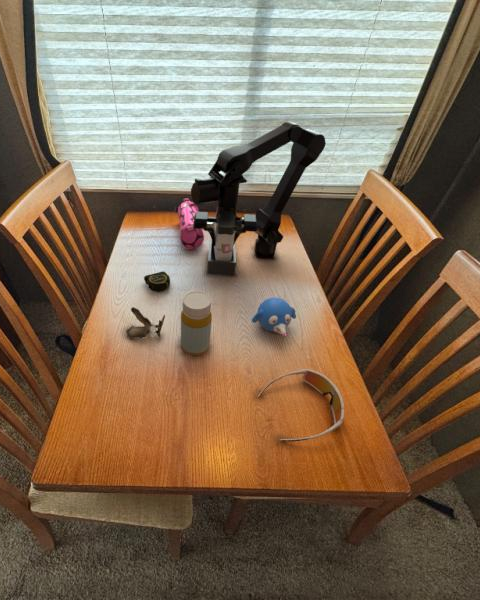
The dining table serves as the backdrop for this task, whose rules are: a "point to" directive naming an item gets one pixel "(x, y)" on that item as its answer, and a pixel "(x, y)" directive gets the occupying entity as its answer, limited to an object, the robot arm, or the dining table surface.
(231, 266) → the holder
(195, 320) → the bottle
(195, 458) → the dining table surface
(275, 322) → the blue mole toy
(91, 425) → the dining table surface
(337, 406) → the sunglasses
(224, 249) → the ink box
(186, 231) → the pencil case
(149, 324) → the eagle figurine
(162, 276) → the tape measure
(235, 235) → the robot arm
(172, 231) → the dining table surface
